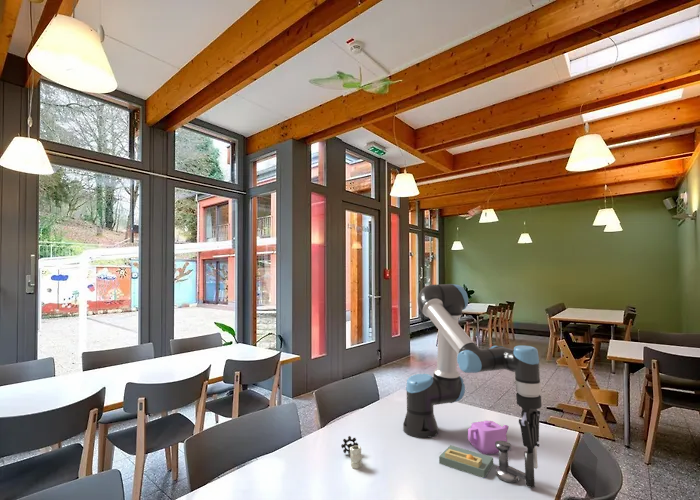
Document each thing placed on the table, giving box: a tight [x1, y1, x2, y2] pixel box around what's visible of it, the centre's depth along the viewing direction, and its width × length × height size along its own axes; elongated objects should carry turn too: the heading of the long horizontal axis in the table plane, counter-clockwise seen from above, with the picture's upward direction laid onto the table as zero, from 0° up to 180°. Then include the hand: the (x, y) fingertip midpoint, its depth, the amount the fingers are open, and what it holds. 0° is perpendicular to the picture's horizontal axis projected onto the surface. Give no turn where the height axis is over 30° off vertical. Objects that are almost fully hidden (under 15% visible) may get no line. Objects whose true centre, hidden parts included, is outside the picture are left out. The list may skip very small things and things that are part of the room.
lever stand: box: [438, 444, 494, 479], centre depth 130 cm, size 16×11×5 cm
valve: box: [341, 435, 363, 470], centre depth 132 cm, size 7×7×12 cm
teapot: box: [467, 420, 509, 455], centre depth 142 cm, size 18×10×10 cm, turn 104°
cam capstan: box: [495, 441, 536, 488], centre depth 119 cm, size 13×7×11 cm, turn 36°
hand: (532, 466), depth 118 cm, fingers closed
